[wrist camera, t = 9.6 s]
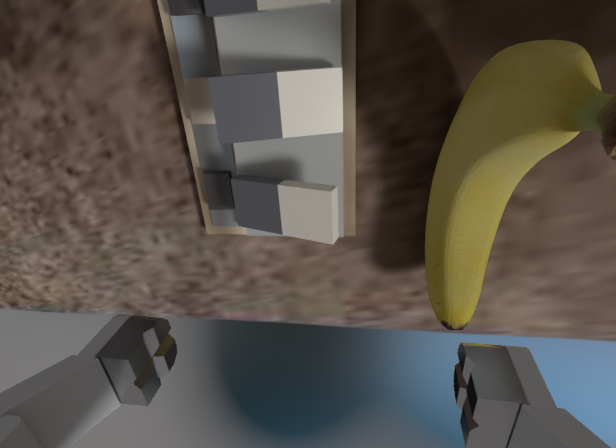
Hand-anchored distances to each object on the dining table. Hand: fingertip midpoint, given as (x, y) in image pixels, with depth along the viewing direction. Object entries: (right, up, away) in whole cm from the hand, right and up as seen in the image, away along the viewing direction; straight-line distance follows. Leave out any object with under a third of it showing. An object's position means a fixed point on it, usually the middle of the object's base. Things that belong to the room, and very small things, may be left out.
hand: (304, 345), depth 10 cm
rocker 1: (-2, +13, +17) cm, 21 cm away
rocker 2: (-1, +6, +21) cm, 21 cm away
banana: (+13, +7, +22) cm, 27 cm away
